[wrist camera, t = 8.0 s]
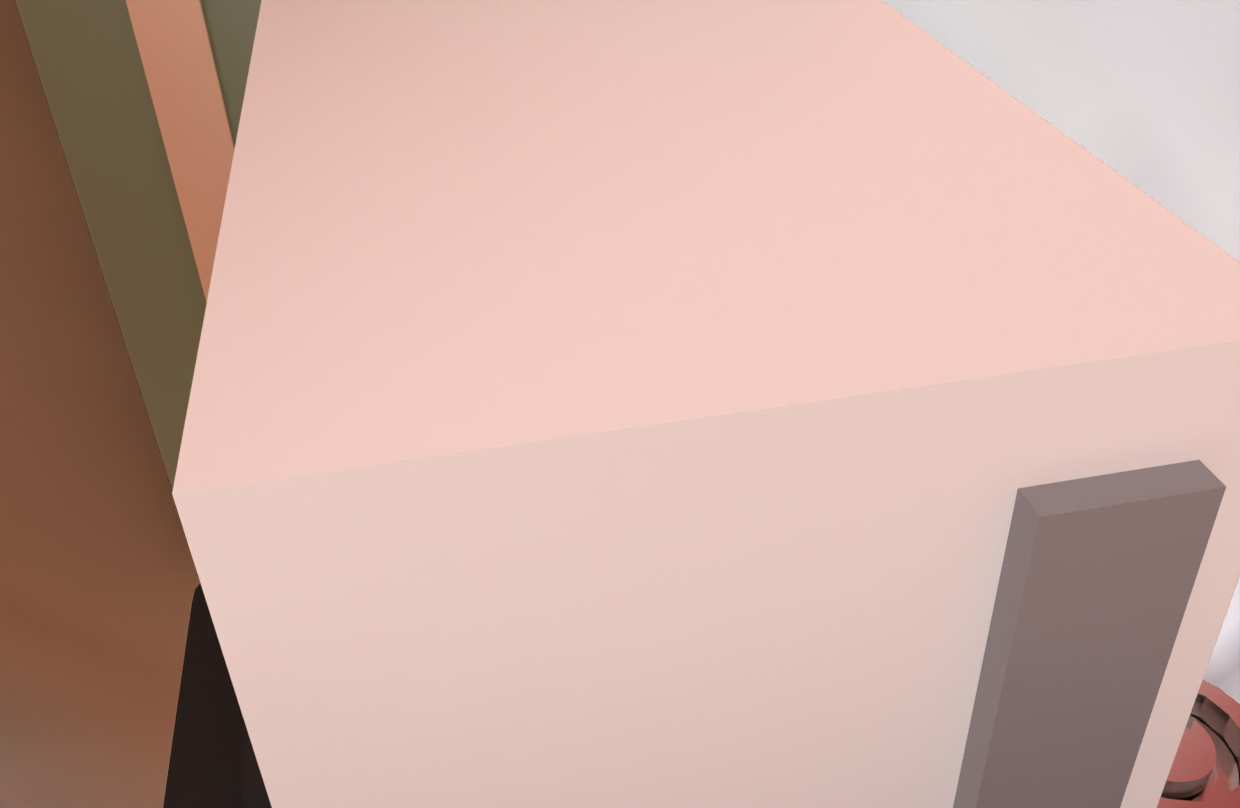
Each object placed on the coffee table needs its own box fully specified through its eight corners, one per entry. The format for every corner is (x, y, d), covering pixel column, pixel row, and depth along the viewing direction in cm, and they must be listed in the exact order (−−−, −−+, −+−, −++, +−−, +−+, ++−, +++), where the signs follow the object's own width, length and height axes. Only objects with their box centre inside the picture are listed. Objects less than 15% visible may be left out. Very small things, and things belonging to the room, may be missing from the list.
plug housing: (266, -29, 8) (166, 528, 3) (783, -71, 9) (1365, 352, 4) (439, 850, 14) (497, 1534, 9) (745, 792, 15) (958, 1407, 10)
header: (-70, -397, 12) (-317, -383, 8) (831, -430, 14) (1101, -438, 9) (225, 576, 21) (197, 881, 16) (776, 488, 22) (905, 742, 17)
